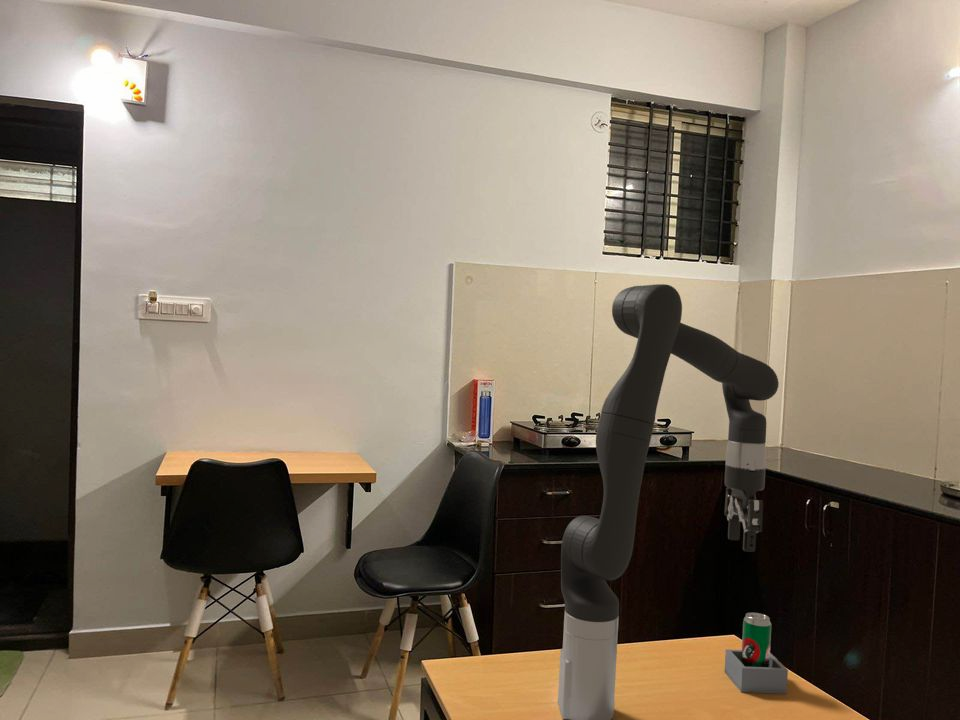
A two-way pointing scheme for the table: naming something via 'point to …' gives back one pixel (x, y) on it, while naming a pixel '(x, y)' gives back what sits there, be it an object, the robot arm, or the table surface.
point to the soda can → (756, 640)
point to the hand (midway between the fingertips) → (741, 545)
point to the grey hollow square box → (756, 675)
